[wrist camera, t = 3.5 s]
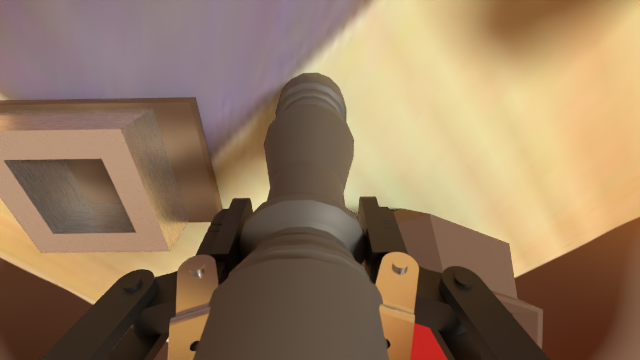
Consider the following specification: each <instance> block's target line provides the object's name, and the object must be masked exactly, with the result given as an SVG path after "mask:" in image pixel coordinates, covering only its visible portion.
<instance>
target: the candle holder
mask: <svg viewBox="0 0 640 360" xmlns="http://www.w3.org/2000/svg"><path fill="white" fill-rule="evenodd" d="M264 149H265V155H266V161H267V168H268V175H269V182H270V191H269V195H268V199H267V201H266V202H264V203H262V204H261V205H260V206H259V207H258V208H257V209H256V210H255V211H254V212H253V213H252V214H251V215H250V216H249V217H248V218H247V219H246V221H245V223H244V226H243V229H242V233H241V236H240V240H239V248H240V252H241V256H242V260H243V261H242V262H241V263H240V264H239V265H237V266H236V267H235V268H234V269H233V270H232V271H231V272H230V273H229V275H228V278H227V279H226V280H225V281H224V282H223V283H222V284H221V285H219V286H218V287H217V288H216V289H215V290H214V291H213V294H212V297H211V299H210V302H209V305H208V306H210V312H209V315H208V318H207V321H206V324H205V327H204V330H203V332H202V335H201V338H200V341H199V342H197V343H196V345H195V346H194V348H193V350H192V351H196V352H195V355H194V358H193V360H389V357H388V352H387V349H388V348H389V344H388V341H387V340H386V339H385V337H384V332H383V327H382V321H381V316H380V311H379V307H380V304H383V300H382V295H381V293H380V291H379V290H378V288H377V286H376V285H375V284H373V283H372V281H371V279H370V277H369V275H368V274H367V272H366V270H365V268H364V267H363V266H362V263H363V262H364V260H365V255H366V244H367V239H366V235H365V232H364V231H363V229H362V227H361V225H360V223H359V221H358V219H357V217H356V215H355V214H354V213H353V212H352V211H350V210H349V209H348V208H346V207H345V202H344V194H343V192H344V189H345V185H346V181H347V178H348V174H349V170H350V167H351V163H352V160H353V154H354V140H353V136H352V134H351V132H350V129H349V127H348V125H347V122H346V106H345V102H344V98H343V96H342V94H341V91H340V89H339V87H338V86H337V85H336V84H335V83H334V82H333V81H332V80H331V79H330V78H329V77H327V76H324V75H321V74H319V73H303V74H301V75H299V76H297V77H295V78H293V79H291V81H290V82H289V83H288V84H287V85H286V86H285V88H284V89H283V91H282V94H281V96H280V99H279V102H278V106H277V109H276V118H275V120H274V121H273V122H272V123H271V124H270V126H269V128H268V132H267V135H266V139H265V142H264Z"/></svg>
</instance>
